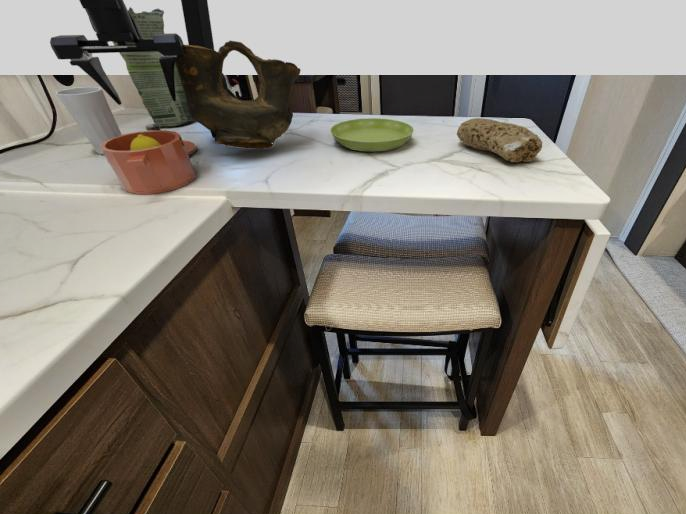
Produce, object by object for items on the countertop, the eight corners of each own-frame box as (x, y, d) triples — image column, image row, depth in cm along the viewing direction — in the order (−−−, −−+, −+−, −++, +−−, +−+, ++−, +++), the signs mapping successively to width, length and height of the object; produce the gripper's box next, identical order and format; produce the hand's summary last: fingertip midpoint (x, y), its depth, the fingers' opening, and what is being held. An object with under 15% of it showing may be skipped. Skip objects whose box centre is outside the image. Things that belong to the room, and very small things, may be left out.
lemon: (169, 170, 68) (150, 128, 62) (181, 177, 65) (162, 134, 60) (140, 178, 65) (116, 134, 59) (151, 186, 62) (128, 141, 57)
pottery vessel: (300, 153, 84) (296, 62, 78) (307, 150, 75) (303, 46, 68) (186, 143, 74) (170, 38, 68) (177, 137, 65) (158, 15, 58)
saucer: (424, 152, 79) (425, 137, 76) (338, 160, 74) (336, 145, 72) (400, 127, 93) (400, 115, 91) (327, 133, 89) (325, 120, 87)
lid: (198, 142, 82) (188, 115, 78) (195, 160, 73) (183, 131, 69) (136, 148, 79) (122, 120, 74) (125, 168, 69) (108, 138, 65)
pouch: (144, 127, 91) (86, 7, 74) (171, 116, 100) (125, 6, 83) (181, 129, 90) (132, 7, 73) (206, 118, 99) (166, 6, 82)
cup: (112, 156, 75) (77, 95, 66) (83, 153, 76) (45, 93, 67) (139, 145, 80) (110, 87, 72) (111, 142, 81) (80, 86, 73)
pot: (198, 160, 73) (183, 124, 68) (193, 194, 61) (174, 152, 56) (133, 168, 70) (112, 130, 65) (114, 205, 57) (86, 161, 52)
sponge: (541, 166, 76) (494, 124, 86) (551, 133, 69) (500, 92, 80) (491, 184, 74) (450, 139, 84) (497, 152, 67) (451, 108, 78)
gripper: (169, -8, 61) (202, 90, 71) (45, -10, 55) (101, 97, 66) (161, -8, 53) (200, 102, 64) (17, -10, 48) (85, 110, 58)
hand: (148, 102), depth 63 cm, fingers open, 9 cm apart
